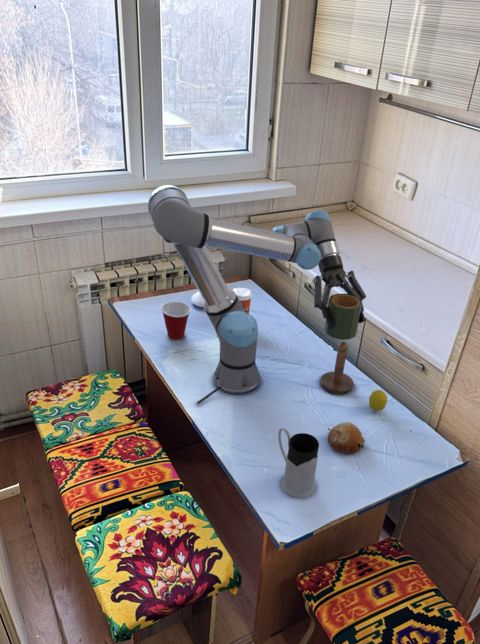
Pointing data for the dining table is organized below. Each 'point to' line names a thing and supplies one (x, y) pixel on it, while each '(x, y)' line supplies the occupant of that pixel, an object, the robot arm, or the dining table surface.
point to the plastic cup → (175, 318)
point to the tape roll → (344, 316)
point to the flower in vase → (198, 299)
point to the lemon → (378, 400)
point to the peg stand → (338, 374)
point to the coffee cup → (244, 298)
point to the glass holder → (300, 464)
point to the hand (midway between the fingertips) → (347, 324)
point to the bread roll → (346, 438)
